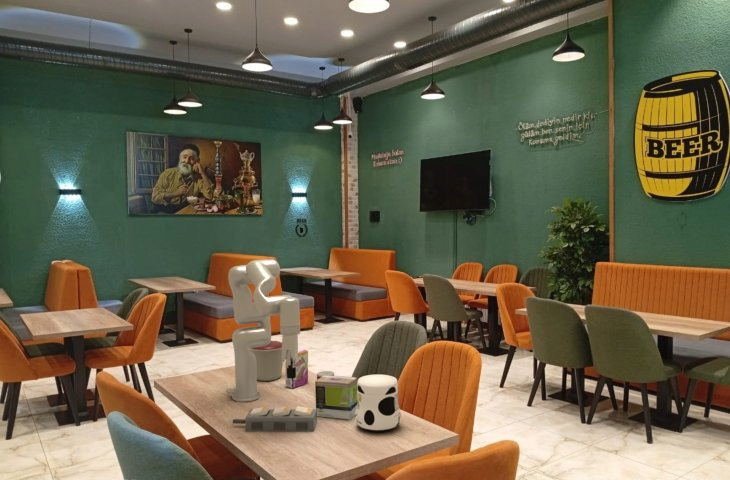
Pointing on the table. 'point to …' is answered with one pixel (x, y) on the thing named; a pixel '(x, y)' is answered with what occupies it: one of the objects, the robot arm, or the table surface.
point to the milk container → (377, 403)
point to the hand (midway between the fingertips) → (291, 377)
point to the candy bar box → (299, 371)
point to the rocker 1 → (260, 411)
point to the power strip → (279, 422)
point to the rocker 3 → (303, 411)
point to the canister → (269, 361)
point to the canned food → (324, 374)
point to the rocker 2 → (282, 411)
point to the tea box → (336, 396)
